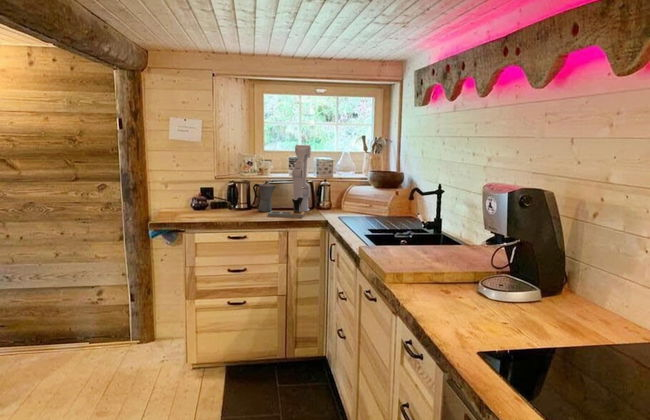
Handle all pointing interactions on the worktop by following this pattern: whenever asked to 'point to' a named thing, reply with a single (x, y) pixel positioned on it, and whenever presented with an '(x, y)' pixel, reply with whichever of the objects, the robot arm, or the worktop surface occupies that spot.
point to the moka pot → (265, 196)
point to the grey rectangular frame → (285, 214)
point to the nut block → (296, 211)
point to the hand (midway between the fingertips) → (297, 209)
